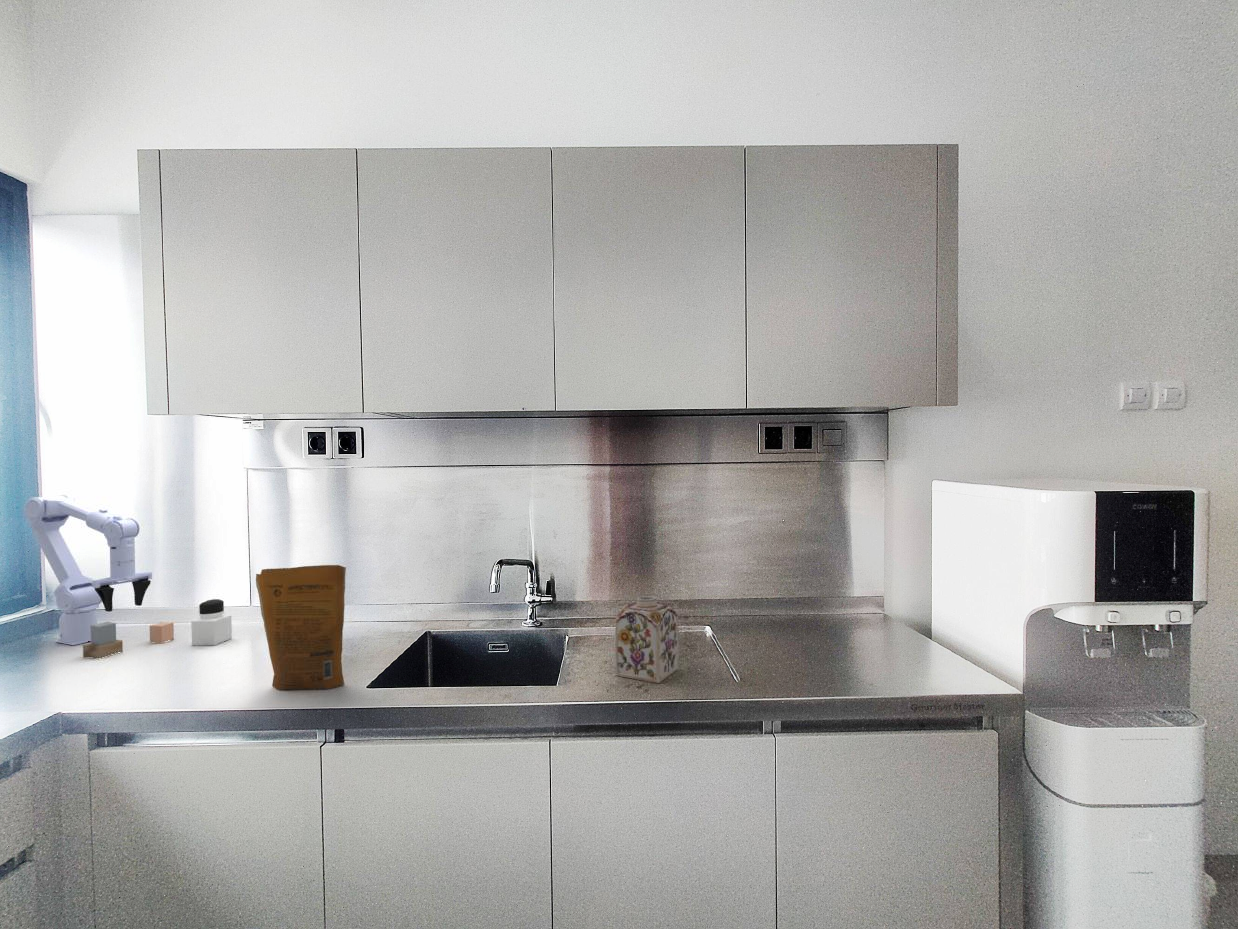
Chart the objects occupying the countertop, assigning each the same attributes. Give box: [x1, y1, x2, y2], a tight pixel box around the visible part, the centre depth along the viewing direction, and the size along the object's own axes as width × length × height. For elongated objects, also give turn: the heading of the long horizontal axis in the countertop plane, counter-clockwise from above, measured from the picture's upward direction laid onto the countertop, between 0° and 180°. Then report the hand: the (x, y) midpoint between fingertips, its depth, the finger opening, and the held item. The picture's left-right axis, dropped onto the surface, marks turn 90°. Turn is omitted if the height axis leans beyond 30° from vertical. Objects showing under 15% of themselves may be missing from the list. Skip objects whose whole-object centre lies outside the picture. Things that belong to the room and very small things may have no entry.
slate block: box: [90, 621, 117, 646], centre depth 174 cm, size 4×4×5 cm
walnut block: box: [82, 639, 124, 659], centre depth 174 cm, size 6×6×4 cm
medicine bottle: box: [190, 598, 233, 646], centre depth 185 cm, size 7×7×12 cm
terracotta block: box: [149, 621, 175, 644], centre depth 187 cm, size 4×4×5 cm
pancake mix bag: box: [255, 564, 347, 691], centre depth 146 cm, size 7×19×28 cm, turn 91°
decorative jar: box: [614, 595, 680, 684], centre depth 153 cm, size 12×12×18 cm
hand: (123, 608), depth 186 cm, fingers open, 7 cm apart
